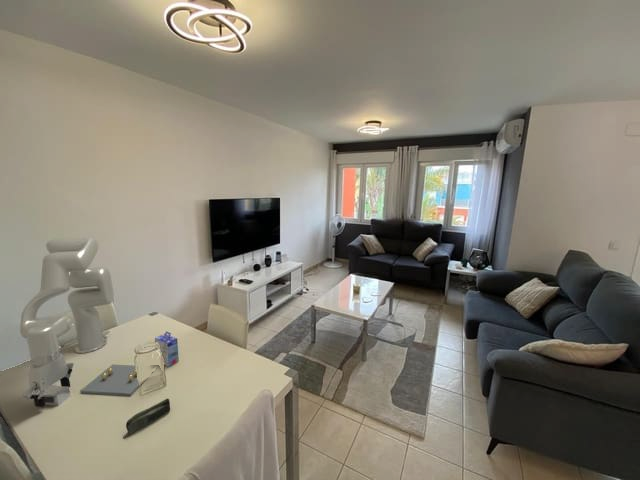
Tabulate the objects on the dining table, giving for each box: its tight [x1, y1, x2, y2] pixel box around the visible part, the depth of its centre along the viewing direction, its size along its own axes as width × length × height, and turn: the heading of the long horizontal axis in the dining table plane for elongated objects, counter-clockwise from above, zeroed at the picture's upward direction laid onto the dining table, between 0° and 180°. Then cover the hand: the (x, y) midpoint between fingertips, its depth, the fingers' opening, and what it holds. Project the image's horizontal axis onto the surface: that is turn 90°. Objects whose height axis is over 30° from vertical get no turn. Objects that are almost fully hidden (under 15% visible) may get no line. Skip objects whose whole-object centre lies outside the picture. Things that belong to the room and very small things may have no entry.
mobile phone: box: [123, 398, 171, 439], centre depth 93 cm, size 5×3×15 cm
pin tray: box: [79, 363, 140, 397], centre depth 113 cm, size 16×21×4 cm
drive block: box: [37, 385, 71, 407], centre depth 101 cm, size 5×8×5 cm, turn 88°
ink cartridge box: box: [154, 330, 180, 368], centre depth 125 cm, size 10×6×14 cm, turn 64°
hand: (54, 396), depth 101 cm, fingers open, 9 cm apart
